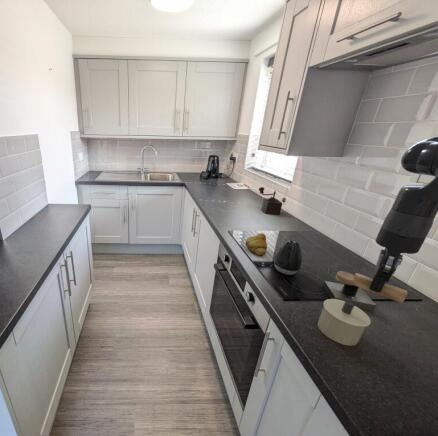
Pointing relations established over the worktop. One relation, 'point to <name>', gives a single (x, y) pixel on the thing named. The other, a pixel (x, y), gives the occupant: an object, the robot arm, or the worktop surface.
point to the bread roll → (257, 244)
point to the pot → (339, 330)
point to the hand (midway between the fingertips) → (374, 288)
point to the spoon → (365, 283)
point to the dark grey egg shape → (288, 258)
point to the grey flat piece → (349, 296)
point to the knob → (350, 289)
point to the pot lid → (346, 313)
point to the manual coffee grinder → (270, 204)
